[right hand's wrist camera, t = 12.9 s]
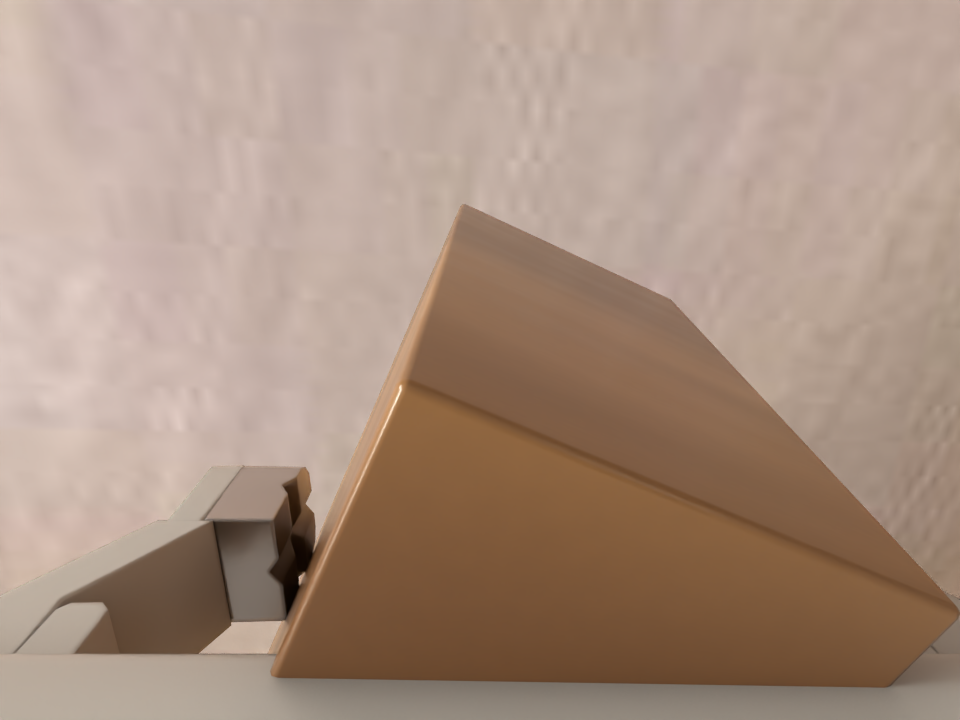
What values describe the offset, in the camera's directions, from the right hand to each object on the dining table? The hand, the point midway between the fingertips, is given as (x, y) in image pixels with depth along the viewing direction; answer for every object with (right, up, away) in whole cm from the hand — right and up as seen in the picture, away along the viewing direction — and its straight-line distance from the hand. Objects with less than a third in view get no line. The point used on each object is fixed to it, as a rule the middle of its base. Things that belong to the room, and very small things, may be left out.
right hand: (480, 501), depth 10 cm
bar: (-3, -5, +5) cm, 8 cm away
